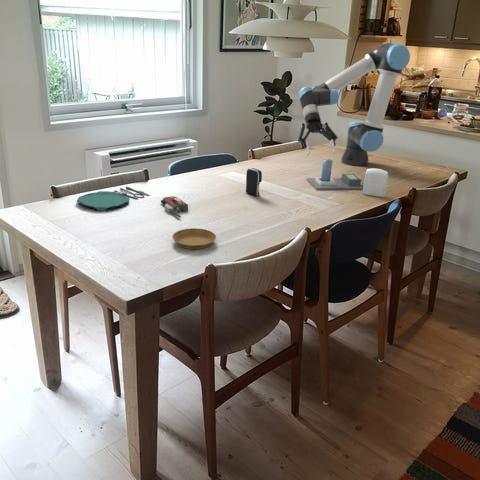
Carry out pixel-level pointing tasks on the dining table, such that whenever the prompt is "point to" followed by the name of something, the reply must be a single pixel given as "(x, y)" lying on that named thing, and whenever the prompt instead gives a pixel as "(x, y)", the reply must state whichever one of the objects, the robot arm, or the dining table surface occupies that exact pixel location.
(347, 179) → the cell checker
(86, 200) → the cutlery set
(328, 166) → the cell
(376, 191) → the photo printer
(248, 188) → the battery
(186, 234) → the plant saucer
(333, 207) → the dining table surface
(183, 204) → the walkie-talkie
